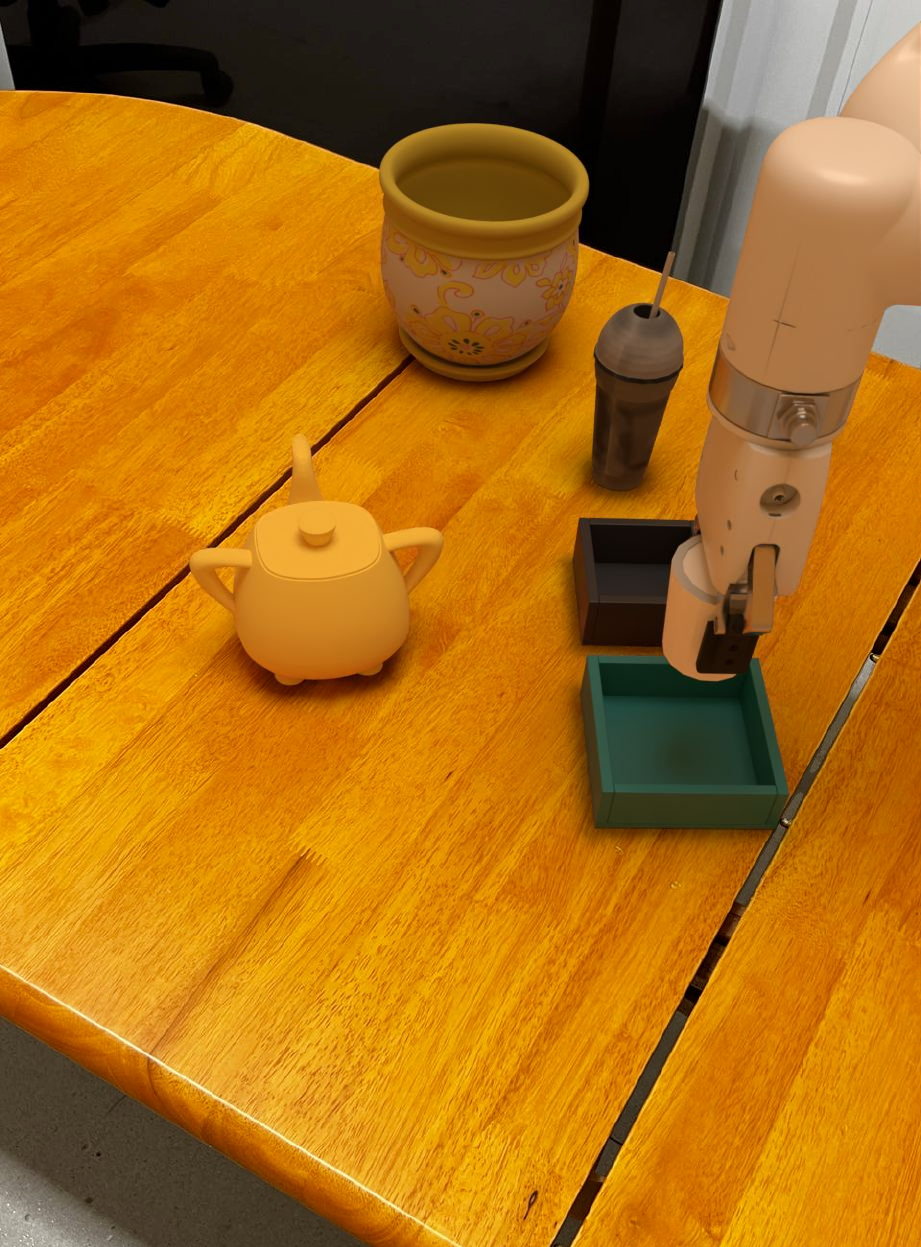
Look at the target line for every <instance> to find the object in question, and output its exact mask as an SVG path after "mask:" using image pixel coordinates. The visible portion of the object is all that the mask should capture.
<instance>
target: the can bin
mask: <svg viewBox="0 0 921 1247" xmlns="http://www.w3.org/2000/svg"><path fill="white" fill-rule="evenodd" d="M698 535H700V534H695V533H694V519H671V518H670V519H668V518H667V519H664V518H663V519H662V518H627V517H626V518H623V517H622V518H621V517H578V522H577V529H576V534H575V541H574V547H573V553H572V560H571V561H572V562H571V563H572V569H573V570H572V571H573V572H572V573H573V579H574V588H575V590H574V591H575V598H576V607H577V616H578V624H579V634H580V643H581V646H582V645H583V646H631V647H632V646H634V647H635V646H637V647H638V646H639V647H663V644H662V639H663V630H664V622H665V614H666V606H667V597H668V589H669V581H670V573H671V564H672V558H673V556H674V555H675V553H676V551H677V549H678V547H679V546H680V545H681V544H683V543H684V542H686V541H687V540H689V539H690V538H691V536H698Z"/></svg>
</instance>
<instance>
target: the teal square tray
mask: <svg viewBox="0 0 921 1247" xmlns="http://www.w3.org/2000/svg"><path fill="white" fill-rule="evenodd" d="M579 691H580V692H579V694H580V702H581V712H582V721H583V722H582V723H583V732H584V740H585V749H586V759H587V769H588V779H589V787H590V797H591V807H592V815H593V825H594V828H602V829H603V828H605V829H609V828H610V829H611V828H614V829H615V828H617V829H690V830H691V829H693V830H694V829H697V830H698V829H699V830H700V829H701V830H703V829H704V830H705V829H706V830H710V829H711V830H776V828H777V826H778V823H779V820H780V819H781V816H782V813H783V811H784V809H785V807H786V804H787V802H788V799H789V797H790V789H789V785H788V781H787V776H786V772H785V769H784V763H783V759H782V755H781V750H780V746H779V742H778V736H777V733H776V732H777V731H776V728H775V723H774V720H773V715H772V710H771V706H770V702H769V698H768V693H767V692H768V691H767V688H766V684H765V680H764V675H763V670H762V666H761V661H760V658H759V657H752V659H751V662H750V665H749V668H748V671H747V672H746V673H744V674H736V675H735V676H733V677H731V678H728V679H724V680H720V681H705V680H698V679H695V678H692V677H690V676H687V675H684V674H683V673H681V672H680V671H678V670H677V669H676V668H674V667H673V666H672V665H671V664H670V663H669V661H668V660H667V658H666V657H665V655H632V654H631V655H628V654H627V655H625V654H624V655H623V654H622V655H621V654H619V655H618V654H587V655H586V659H585V664H584V670H583V674H582V680H581V686H580V690H579Z"/></svg>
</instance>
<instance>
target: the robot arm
mask: <svg viewBox="0 0 921 1247" xmlns="http://www.w3.org/2000/svg"><path fill="white" fill-rule="evenodd" d="M751 202H752V203H751V206H750V210H749V215H748V219H747V222H746V228H745V230H744V236H743V241H742V245H741V249H740V252H739V257H738V262H737V264H736V265H737V266H736V270H735V274H734V278H733V282H732V285H731V291H730V295H729V298H728V303H727V308H726V310H725V311H726V312H725V316H724V321H723V324H722V328H721V332H720V333H721V334H720V337H719V340H718V344H717V349H716V352H715V356H714V360H713V361H714V362H713V365H712V369H711V373H710V378H709V381H708V387H707V391H706V404H707V408H708V410H709V413H710V414H711V418H710V422H709V424H708V427H707V431H706V436H705V439H704V443H703V447H702V450H701V455H700V458H699V463H698V468H697V473H696V478H695V486H694V497H695V500H694V501H695V509H696V514H695V515H694V519H693V520H694V533H695V534H700V535H702V540H703V545H704V550H705V555H706V560H707V564H708V569H709V573H710V577H711V581H712V583H713V585H714V587H715V588H716V589H717V590H718V594H717V601H716V609H715V616H714V620H712V621H708V622H707V625H706V629H705V632H704V636H703V639H702V643H701V646H700V649H699V653H698V656H697V660H696V670H697V672H698V673H701V674H744V673H746V672H747V671H748V668H749V665H750V662H751V659H752V658H753V656H754V653H755V652H756V647H757V644H758V641H759V638H760V637H761V636H764V635H766V634H770V633H772V631H773V627H774V613H775V612H774V610H775V608H774V607H775V603H774V584H775V585H776V589H777V593H778V597H786V598H787V597H792V596H793V595H794V594H795V592H796V591H797V589H798V588H799V585H800V582H801V580H802V576H803V573H804V570H805V566H806V562H807V560H808V556H809V552H810V549H811V545H812V542H813V539H814V536H815V533H816V529H817V525H818V521H819V518H820V513H821V510H822V506H823V503H824V502H823V501H824V497H825V493H826V489H827V488H826V487H827V485H828V484H827V483H828V478H829V474H830V466H831V460H832V452H833V440H834V439H836V438H837V437H838V436H839V435H840V434H842V432H843V430H844V429H845V427H846V425H847V421H848V418H849V415H850V413H851V410H852V407H853V405H854V401H855V398H856V395H857V393H858V390H859V387H860V384H861V383H862V382H861V381H862V379H863V376H864V374H865V370H866V366H867V363H868V362H869V358H870V355H871V353H872V350H873V347H874V344H875V341H876V338H877V334H878V332H879V329H880V326H881V323H882V320H883V317H884V315H885V313H886V310H887V309H889V308H891V307H893V306H912V307H914V306H915V307H921V21H919V22H917V24H916V25H915V26H914V27H913V28H912V29H910V30H909V31H908V32H907V33H906V34H905V35H904V36H902V37H901V39H899V40H898V41H897V42H896V43H895V44H894V45H893V46H892V47H891V48H890V49H889V50H888V51H887V52H886V53H885V54H884V55H883V56H882V57H881V58H880V59H879V60H878V61H877V63H876V64H875V65H873V67H872V68H871V69H870V70H869V71H868V72H867V73H866V75H865V76H863V78H862V79H861V80H860V82H859V83H858V84H857V86H856V87H855V88H854V90H853V91H852V93H851V94H850V95H849V97H848V99H846V101H845V104H844V105H843V107H842V109H841V111H840V113H839V114H838V116H818V117H813V118H808V119H805V120H801V121H800V122H799V121H798V122H797V123H795V124H792V125H791V126H788V127H786V128H785V129H784V130H783V131H782V132H781V133H779V134H778V136H777V137H775V139H774V140H773V141H772V143H771V144H770V146H769V147H768V149H767V151H766V153H765V155H764V157H763V160H762V163H761V166H760V170H759V174H758V177H757V181H756V186H755V189H754V194H753V198H752V201H751ZM692 537H694V536H691V538H692ZM746 571H748V576H747V579H740V578H741V576H742V575H743V574H744V573H745V572H746ZM731 594H747V604H746V609H745V612H743V613H742V614H729V609H730V601H731Z"/></svg>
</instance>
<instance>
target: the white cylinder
mask: <svg viewBox="0 0 921 1247" xmlns="http://www.w3.org/2000/svg"><path fill="white" fill-rule="evenodd" d="M747 576H748V571H746V572H745V573H744V574H743V575H742V576H741V578H740V579H747ZM717 594H718V590H717V589H716V588H715V587H714V585H713V583H712V581H711V577H710V573H709V569H708V564H707V560H706V555H705V550H704V545H703V540H702V535H698V536H694V537H692V538H690V539H689V540H687V541H686V542H684V543H683V544H681V545H680V546H679V547H678V549H677V551H676V553H675V555H674V556H673V558H672V564H671V573H670V581H669V589H668V597H667V606H666V614H665V622H664V630H663V639H662V644H663V646H662V653H663V656H665V657H666V658H667V660H668V661H669V663H670V664H671V665H672V666H673V667H674V668H676V669H677V670H678V671H680V672H681V673H683V674H684V675H687V676H690V677H692V678H695V679H698V680H705V681H720V680H724V679H728V678H731V677H733V676H735V675H736V674H701V673H698V672H697V670H696V660H697V656H698V653H699V649H700V646H701V643H702V639H703V636H704V632H705V629H706V625H707V622H708V621H712V620H714V616H715V609H716V601H717ZM778 597H779V596H778V593H777V589H776V585H775V584H774V604H775V603H776V601H777V599H778ZM746 604H747V594H731V601H730V609H729V614H742V613H743V612H745V609H746Z"/></svg>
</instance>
